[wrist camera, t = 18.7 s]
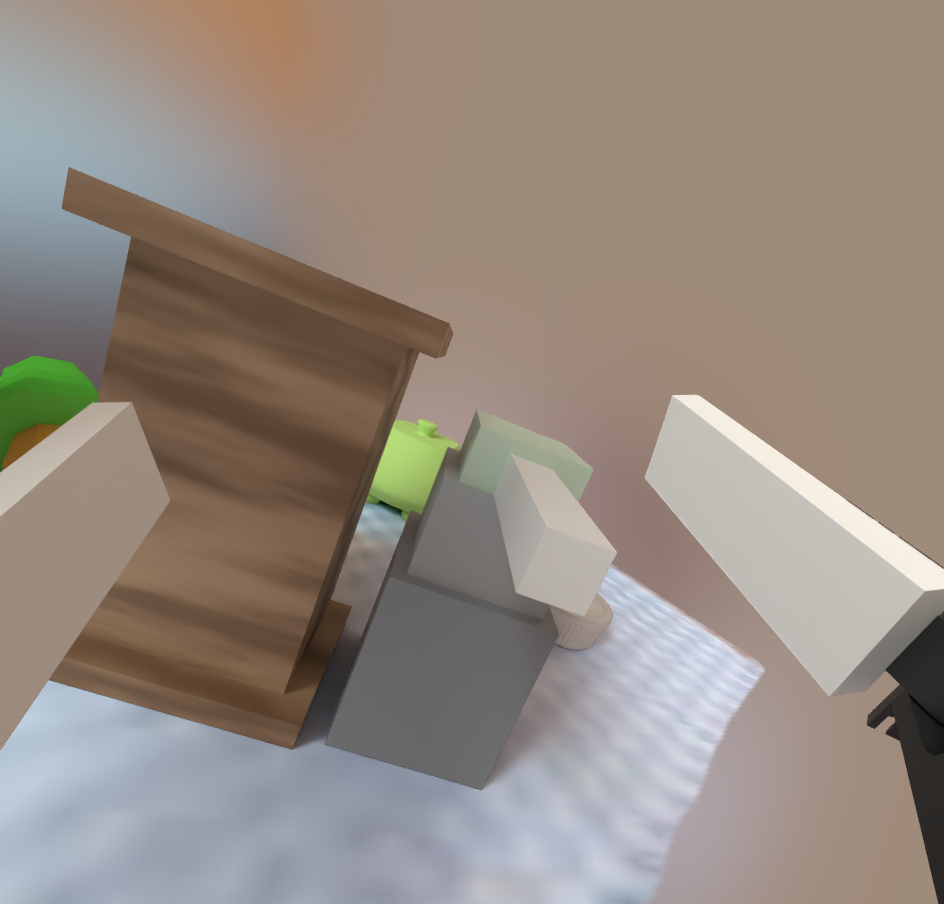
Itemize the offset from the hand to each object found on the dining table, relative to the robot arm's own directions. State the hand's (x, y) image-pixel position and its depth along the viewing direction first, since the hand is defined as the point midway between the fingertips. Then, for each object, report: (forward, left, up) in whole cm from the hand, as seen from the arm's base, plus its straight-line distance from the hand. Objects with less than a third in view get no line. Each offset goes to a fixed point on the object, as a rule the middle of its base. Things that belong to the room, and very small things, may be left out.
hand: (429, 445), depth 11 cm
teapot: (-24, +61, -27) cm, 71 cm away
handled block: (+1, +16, -5) cm, 17 cm away
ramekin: (+10, +46, -27) cm, 54 cm away
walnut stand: (-17, +15, -26) cm, 35 cm away
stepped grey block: (-1, +22, -26) cm, 34 cm away
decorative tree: (-52, +23, -27) cm, 63 cm away
